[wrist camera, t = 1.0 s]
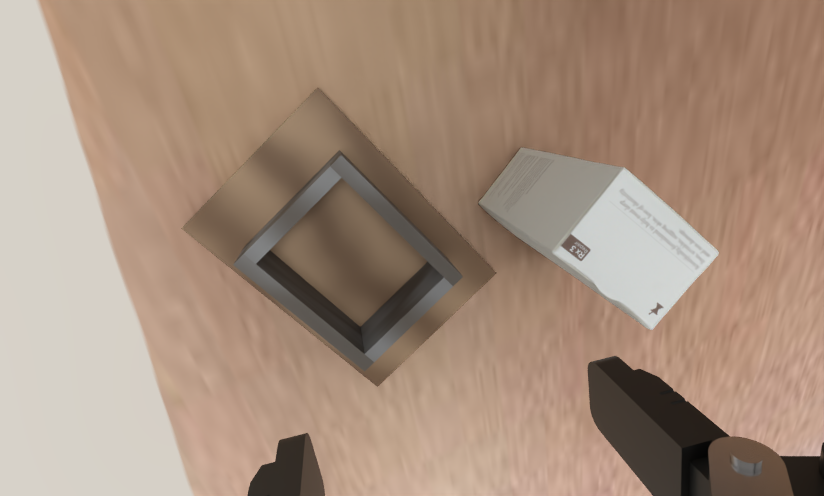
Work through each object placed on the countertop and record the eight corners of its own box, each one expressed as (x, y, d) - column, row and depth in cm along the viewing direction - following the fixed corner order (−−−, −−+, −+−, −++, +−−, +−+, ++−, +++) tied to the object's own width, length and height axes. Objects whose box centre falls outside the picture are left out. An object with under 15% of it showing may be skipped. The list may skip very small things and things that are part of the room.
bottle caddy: (318, 88, 33) (316, 83, 28) (492, 269, 39) (517, 292, 34) (185, 225, 34) (159, 245, 29) (376, 380, 40) (383, 419, 35)
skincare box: (586, 202, 39) (731, 252, 25) (542, 259, 40) (658, 337, 26) (515, 142, 37) (632, 160, 23) (469, 203, 37) (555, 257, 23)
